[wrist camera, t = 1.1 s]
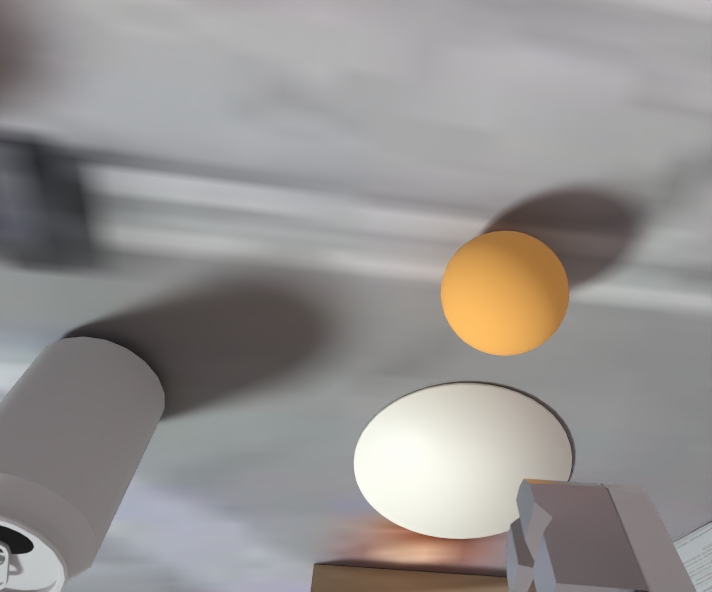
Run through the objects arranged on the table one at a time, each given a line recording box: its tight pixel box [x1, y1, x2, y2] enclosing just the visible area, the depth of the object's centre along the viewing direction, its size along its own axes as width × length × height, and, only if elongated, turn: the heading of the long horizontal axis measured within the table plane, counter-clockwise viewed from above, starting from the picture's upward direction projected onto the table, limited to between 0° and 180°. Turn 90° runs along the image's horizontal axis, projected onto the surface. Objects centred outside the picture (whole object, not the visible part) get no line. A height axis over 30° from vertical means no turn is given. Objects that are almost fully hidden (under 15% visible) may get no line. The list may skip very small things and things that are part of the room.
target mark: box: [354, 383, 572, 539], centre depth 38 cm, size 13×13×1 cm
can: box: [0, 337, 165, 592], centre depth 31 cm, size 8×8×12 cm
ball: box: [441, 231, 569, 355], centre depth 28 cm, size 6×6×6 cm
